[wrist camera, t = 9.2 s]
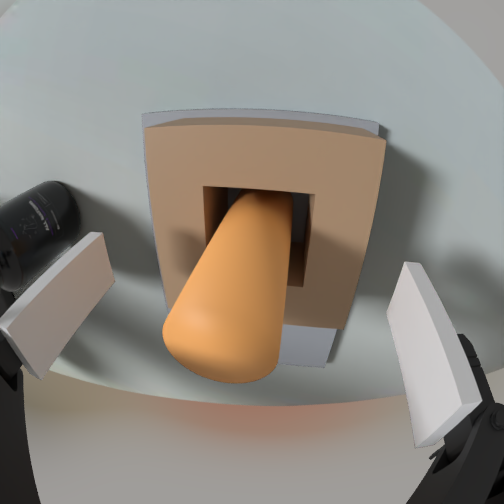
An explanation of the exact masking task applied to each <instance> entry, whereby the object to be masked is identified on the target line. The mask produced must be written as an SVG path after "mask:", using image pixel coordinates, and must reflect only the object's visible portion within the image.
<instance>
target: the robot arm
mask: <svg viewBox="0 0 504 504" xmlns="http://www.w3.org/2000/svg"><path fill="white" fill-rule="evenodd" d="M114 282H115V279H114V276H113V272H112V268H111V265H110V261H109V257H108V253H107V249H106V245H105V241H104V236H103V233H100V232H90V233H89V234H87V235H86V236H85V237H84V238H83V239H81V240H80V241H79V242H78V243H77V244H76V245H74V246H73V247H72V248H71V249H70V250H69V251H68V252H66V253H65V254H64V255H63V256H62V257H61V258H60V259H59V260H57V261H56V262H55V263H54V264H53V265H52V266H51V267H50V268H49V269H48V270H47V271H46V272H45V273H43V274H42V275H41V276H40V277H39V278H38V279H37V280H36V281H35V282H34V283H33V284H32V285H31V286H30V287H29V288H27V289H26V290H25V291H24V292H23V293H22V294H21V295H20V297H18V298H17V299H16V301H15V299H14V297H13V295H12V293H11V292H10V291H6V290H3V289H1V291H0V504H41V503H40V499H39V496H38V492H37V488H36V484H35V480H34V475H33V470H32V465H31V461H30V454H29V448H28V440H27V433H26V423H25V412H24V393H23V372H22V370H21V369H20V367H21V366H22V364H23V365H24V366H25V368H26V369H27V370H28V372H29V373H30V374H31V375H33V376H35V377H36V378H38V379H40V380H42V379H43V377H44V376H45V374H46V373H47V371H48V370H49V368H50V367H51V365H52V364H53V362H54V361H55V360H56V358H57V357H58V355H59V354H60V352H61V351H62V350H63V348H64V347H65V345H66V344H67V343H68V341H69V340H70V338H71V337H72V336H73V334H74V333H75V332H76V330H77V329H78V328H79V326H80V325H81V324H82V322H83V321H84V320H85V318H86V317H87V316H88V315H89V313H90V312H91V311H92V309H93V308H94V307H95V306H96V304H97V303H98V302H99V301H100V299H101V298H102V297H103V296H104V294H105V293H106V292H107V291H108V289H109V288H110V287H111V286H112V285H113V283H114ZM386 314H387V318H388V321H389V325H390V328H391V332H392V336H393V340H394V343H395V347H396V351H397V355H398V359H399V364H400V368H401V372H402V377H403V382H404V386H405V391H406V396H407V401H408V407H409V412H410V418H411V424H412V431H413V438H414V445H415V448H420V447H425V446H431V445H435V444H436V443H437V442H438V441H439V440H441V439H442V438H443V437H444V441H445V445H444V446H442V447H441V448H440V449H438V450H437V451H436V452H435V453H433V454H432V455H431V456H430V457H429V459H430V460H431V459H433V458H434V457H435V456H436V458H435V460H434V462H433V463H432V465H431V467H430V468H429V470H428V472H427V473H426V475H425V476H424V478H423V480H422V481H421V483H420V484H419V486H418V487H417V489H416V490H415V492H414V493H413V495H412V496H411V497H410V499H409V500H408V501H407V503H406V504H504V405H503V404H500V403H495V401H494V399H493V396H492V393H491V390H490V387H489V384H488V382H487V379H486V376H485V374H484V371H483V369H482V367H480V366H481V364H480V361H479V359H478V358H477V354H476V352H475V350H474V348H473V345H472V344H471V342H470V341H469V340H468V339H467V338H466V337H465V335H464V334H456V331H455V329H454V327H453V325H452V323H451V321H450V318H449V316H448V314H447V312H446V310H445V308H444V306H443V304H442V302H441V300H440V298H439V296H438V294H437V293H436V291H435V289H434V287H433V285H432V283H431V281H430V280H429V278H428V276H427V274H426V272H425V271H424V269H423V267H422V265H421V264H420V263H415V262H405V261H404V264H403V268H402V271H401V274H400V276H399V279H398V282H397V285H396V288H395V291H394V293H393V296H392V299H391V301H390V304H389V307H388V309H387V312H386Z"/></svg>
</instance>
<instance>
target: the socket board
mask: <svg viewBox="0 0 504 504" xmlns="http://www.w3.org/2000/svg"><path fill="white" fill-rule="evenodd" d="M142 128H143V144H144V157H145V168H146V179H147V188H148V197H149V205H150V213H151V220H152V227H153V234H154V241H155V247H156V253H157V259H158V265H159V270H160V276H161V281H162V286H163V291H164V296H165V301H166V306H167V311H168V315H169V313H170V311H171V310H172V308H173V306H174V304H175V302H176V300H177V299H178V297H179V295H180V293H181V291H182V290H183V288H184V286H185V284H186V282H187V281H188V279H189V277H190V275H191V274H192V272H193V270H194V268H195V267H196V265H197V263H198V261H199V260H200V258H201V256H202V254H203V253H204V251H205V249H206V247H207V246H208V244H209V242H210V241H211V239H212V237H213V236H214V234H215V232H216V230H217V229H218V227H219V225H220V224H221V222H222V220H223V219H224V217H225V215H226V214H227V212H228V210H229V209H230V207H231V205H232V204H233V202H234V200H235V199H236V197H237V196H238V194H239V192H240V191H241V189H242V188H250V189H263V190H276V191H287V192H291V195H292V198H293V218H292V231H291V243H290V255H289V267H288V278H287V288H286V298H285V308H284V317H283V327H282V336H281V344H280V353H279V360H278V363H277V364H286V365H296V366H308V367H322V368H324V367H325V364H326V362H327V359H328V356H329V353H330V350H331V347H332V344H333V340H334V337H335V334H336V331H337V329H344V327H345V324H346V321H347V318H348V314H349V311H350V308H351V305H352V301H353V298H354V294H355V291H356V287H357V284H358V280H359V277H360V273H361V269H362V265H363V261H364V257H365V253H366V249H367V245H368V241H369V236H370V232H371V227H372V223H373V218H374V213H375V208H376V203H377V198H378V192H379V187H380V181H381V175H382V169H383V162H384V155H385V148H386V140H385V139H383V138H381V137H379V136H378V131H379V123H377V122H374V121H368V120H362V119H356V118H350V117H343V116H335V115H328V114H319V113H309V112H298V111H285V110H267V109H193V110H176V111H163V112H152V113H145V114H142Z"/></svg>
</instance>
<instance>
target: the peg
mask: <svg viewBox="0 0 504 504" xmlns="http://www.w3.org/2000/svg"><path fill="white" fill-rule="evenodd" d="M292 218H293V198H292V195H291V192H287V191H276V190H263V189H250V188H242V189H241V191H240V192H239V194H238V196H237V197H236V199H235V200H234V202H233V204H232V205H231V207H230V209H229V210H228V212H227V214H226V215H225V217H224V219H223V220H222V222H221V224H220V225H219V227H218V229H217V230H216V232H215V234H214V236H213V237H212V239H211V241H210V242H209V244H208V246H207V247H206V249H205V251H204V253H203V254H202V256H201V258H200V260H199V261H198V263H197V265H196V267H195V268H194V270H193V272H192V274H191V275H190V277H189V279H188V281H187V282H186V284H185V286H184V288H183V290H182V291H181V293H180V295H179V297H178V299H177V300H176V302H175V304H174V306H173V308H172V310H171V311H170V313H169V315H168V317H167V319H166V321H165V323H164V325H163V340H164V342H165V345H166V347H167V349H168V350H169V352H170V353H171V355H172V356H173V357H174V358H175V359H176V360H177V361H178V362H179V363H180V364H182V365H183V366H184V367H186V368H187V369H189V370H190V371H192V372H194V373H196V374H198V375H200V376H202V377H205V378H208V379H211V380H214V381H219V382H225V383H248V382H253V381H256V380H259V379H261V378H263V377H265V376H267V375H268V374H270V373H271V372H272V371H273V370H274V368H275V367H276V365H277V363H278V360H279V353H280V344H281V336H282V327H283V317H284V308H285V298H286V288H287V278H288V267H289V255H290V243H291V231H292Z"/></svg>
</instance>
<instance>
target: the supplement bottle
mask: <svg viewBox="0 0 504 504" xmlns="http://www.w3.org/2000/svg"><path fill="white" fill-rule="evenodd" d="M79 231H80V215H79V211H78V207H77V205H76V202H75V200H74V198H73V197H72V195H71V194H70V192H69V191H68V190H67V189H66V188H65V187H64V186H62V185H61V184H59V183H57V182H54V181H47V182H44V183H41V184H39V185H37V186H35V187H33V188H31V189H30V190H28V191H26V192H24V193H22V194H20V195H18V196H17V197H15V198H13V199H11V200H10V201H8V202H6V203H4V204H3V205H1V206H0V291H1V289H3V290H6V291H10V292H13V291H18V290H20V289H21V288H22V287H23V286H24V285H26V284H27V283H28V282H29V281H30V280H31V279H32V278H33V277H34V276H35V275H36V274H38V273H39V272H40V271H41V270H42V269H43V268H44V267H45V266H47V265H48V264H49V263H50V262H51V261H52V260H53V259H55V258H56V257H57V256H58V255H59V254H61V253H62V252H63V251H64V250H65V249H67V248H68V247H69V246H70V245H71V244H72V243H73V242H74V241H75V240H76V239H77V237H78V234H79Z"/></svg>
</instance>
